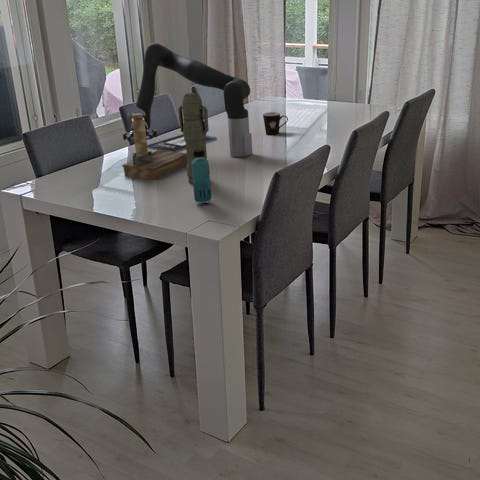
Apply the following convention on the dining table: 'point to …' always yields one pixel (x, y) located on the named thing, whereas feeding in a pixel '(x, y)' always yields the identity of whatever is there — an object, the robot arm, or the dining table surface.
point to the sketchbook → (174, 143)
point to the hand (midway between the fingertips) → (140, 138)
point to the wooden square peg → (139, 135)
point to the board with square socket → (155, 164)
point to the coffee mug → (272, 122)
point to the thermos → (193, 127)
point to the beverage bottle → (201, 177)
